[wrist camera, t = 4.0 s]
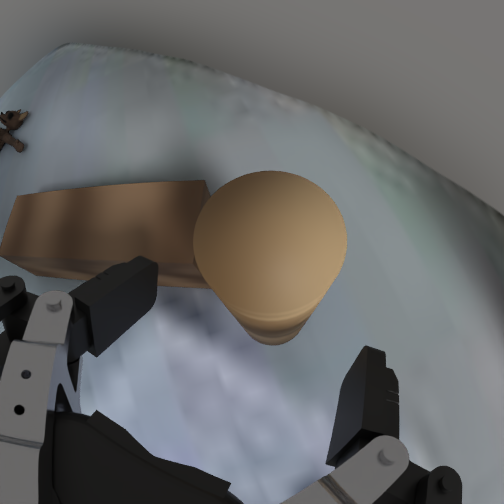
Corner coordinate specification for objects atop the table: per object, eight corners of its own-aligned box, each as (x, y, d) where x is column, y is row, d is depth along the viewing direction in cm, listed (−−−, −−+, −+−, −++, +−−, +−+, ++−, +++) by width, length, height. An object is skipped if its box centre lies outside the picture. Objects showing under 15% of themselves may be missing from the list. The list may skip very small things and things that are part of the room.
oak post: (305, 284, 20) (340, 173, 8) (303, 346, 18) (350, 313, 7) (243, 282, 20) (203, 171, 9) (239, 343, 18) (184, 308, 7)
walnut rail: (219, 219, 22) (204, 180, 17) (212, 288, 20) (193, 263, 15) (50, 222, 23) (17, 195, 18) (36, 275, 21) (-2, 254, 17)
